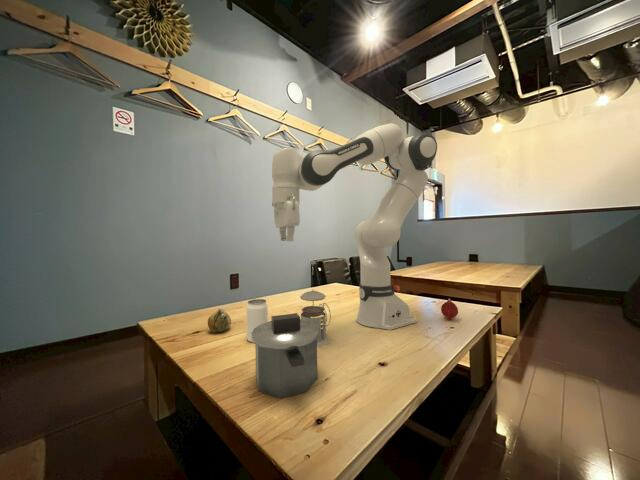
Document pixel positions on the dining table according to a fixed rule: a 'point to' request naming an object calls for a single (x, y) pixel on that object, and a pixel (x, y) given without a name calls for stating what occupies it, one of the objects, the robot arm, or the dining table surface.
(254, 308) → the can
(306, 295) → the french press
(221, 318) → the onion
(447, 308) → the onion
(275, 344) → the lid
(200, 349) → the dining table surface
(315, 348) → the pot
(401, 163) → the robot arm
